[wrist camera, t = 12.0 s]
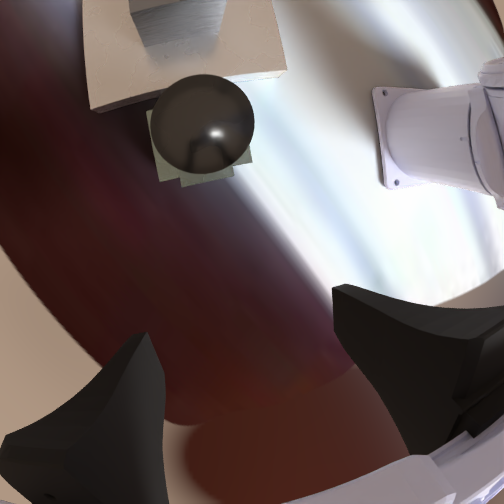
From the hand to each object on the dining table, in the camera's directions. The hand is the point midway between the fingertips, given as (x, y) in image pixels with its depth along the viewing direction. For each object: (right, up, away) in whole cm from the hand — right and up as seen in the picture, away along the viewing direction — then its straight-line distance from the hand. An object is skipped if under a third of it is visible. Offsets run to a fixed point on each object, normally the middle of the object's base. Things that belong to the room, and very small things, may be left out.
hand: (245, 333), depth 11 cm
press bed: (-4, +15, +5) cm, 17 cm away
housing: (-4, +18, +3) cm, 18 cm away
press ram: (-3, +9, +4) cm, 11 cm away
